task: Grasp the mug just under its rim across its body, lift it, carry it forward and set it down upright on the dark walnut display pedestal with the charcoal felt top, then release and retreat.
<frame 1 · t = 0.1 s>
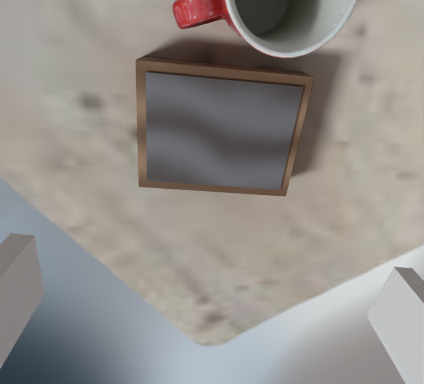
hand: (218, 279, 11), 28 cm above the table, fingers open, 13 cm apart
mug: (240, 2, 31), on the table
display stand: (217, 126, 37), on the table
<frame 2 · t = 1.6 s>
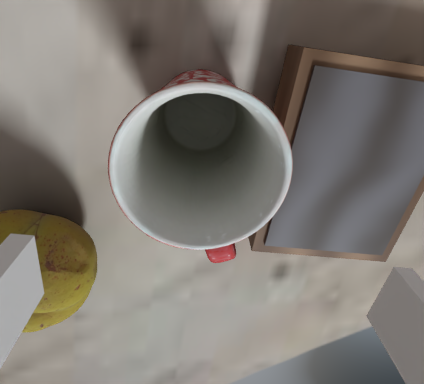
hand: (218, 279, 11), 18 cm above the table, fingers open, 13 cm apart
mug: (202, 130, 28), on the table
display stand: (334, 157, 29), on the table
fruit: (57, 232, 32), on the table
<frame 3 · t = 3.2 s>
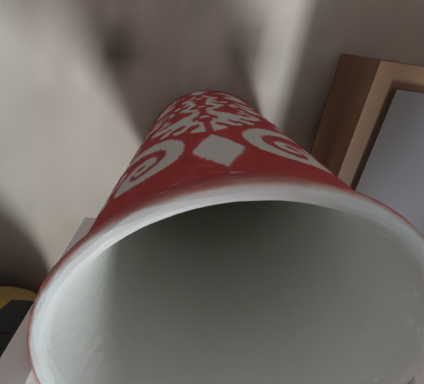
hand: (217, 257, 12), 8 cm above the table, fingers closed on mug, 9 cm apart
mug: (211, 174, 19), on the table, touching gripper
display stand: (392, 207, 21), on the table
fruit: (18, 298, 24), on the table
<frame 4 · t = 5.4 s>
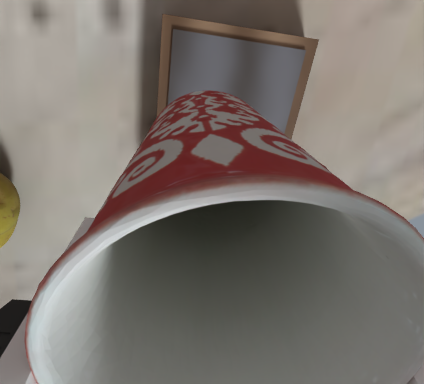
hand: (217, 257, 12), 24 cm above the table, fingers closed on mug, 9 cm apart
mug: (210, 174, 19), point 16 cm above the table, touching gripper
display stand: (222, 116, 34), on the table
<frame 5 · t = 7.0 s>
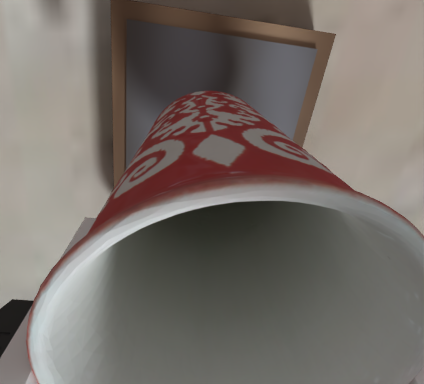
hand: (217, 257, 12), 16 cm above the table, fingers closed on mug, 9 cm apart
mug: (211, 174, 19), point 8 cm above the table, touching gripper
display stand: (206, 136, 26), on the table
when the fingers open (13 cm above the table, at t = 8.0 s): mug drops 1 cm, resting on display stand.
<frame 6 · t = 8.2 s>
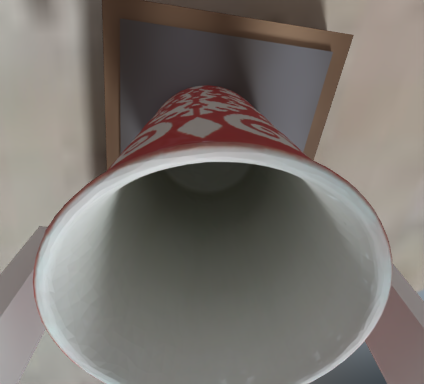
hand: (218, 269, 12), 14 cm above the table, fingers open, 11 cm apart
mug: (209, 165, 21), point 4 cm above the table, touching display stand
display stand: (209, 145, 24), on the table
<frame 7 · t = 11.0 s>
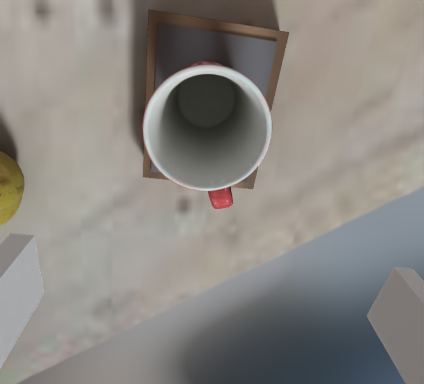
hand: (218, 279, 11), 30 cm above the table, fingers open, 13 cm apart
mug: (207, 111, 34), point 4 cm above the table, touching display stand
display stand: (207, 104, 37), on the table
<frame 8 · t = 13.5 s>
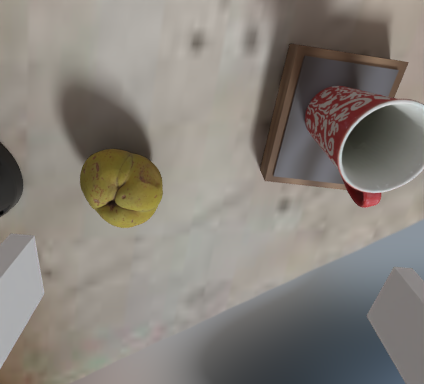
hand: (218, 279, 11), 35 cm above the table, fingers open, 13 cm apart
mug: (330, 126, 40), point 4 cm above the table, touching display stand
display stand: (319, 118, 44), on the table
fruit: (131, 171, 47), on the table
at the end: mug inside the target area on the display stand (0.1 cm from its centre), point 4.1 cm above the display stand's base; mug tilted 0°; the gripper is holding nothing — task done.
